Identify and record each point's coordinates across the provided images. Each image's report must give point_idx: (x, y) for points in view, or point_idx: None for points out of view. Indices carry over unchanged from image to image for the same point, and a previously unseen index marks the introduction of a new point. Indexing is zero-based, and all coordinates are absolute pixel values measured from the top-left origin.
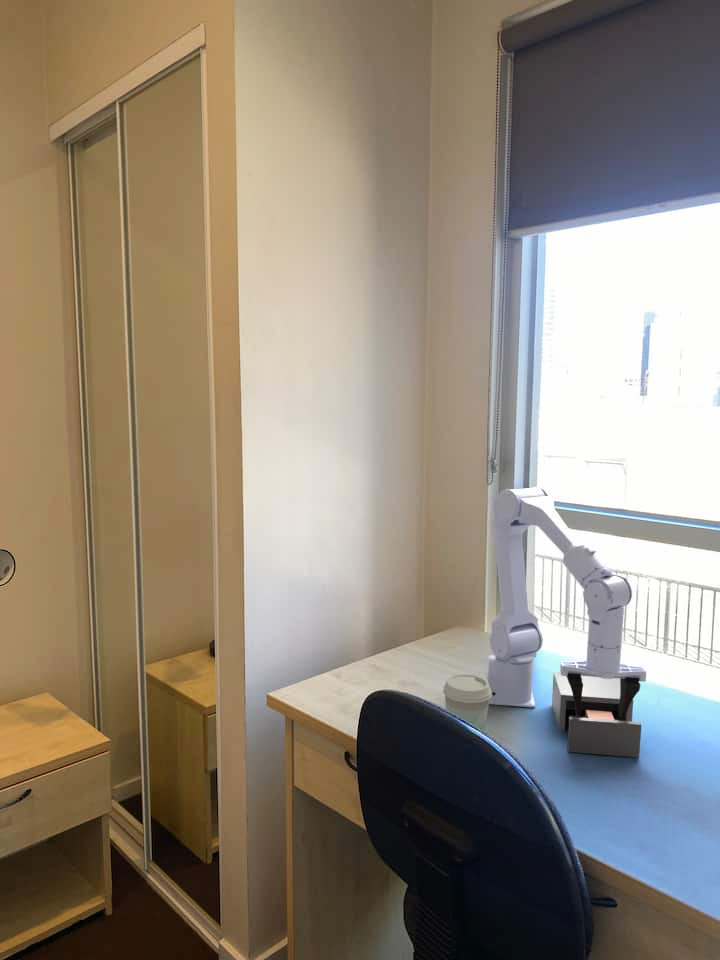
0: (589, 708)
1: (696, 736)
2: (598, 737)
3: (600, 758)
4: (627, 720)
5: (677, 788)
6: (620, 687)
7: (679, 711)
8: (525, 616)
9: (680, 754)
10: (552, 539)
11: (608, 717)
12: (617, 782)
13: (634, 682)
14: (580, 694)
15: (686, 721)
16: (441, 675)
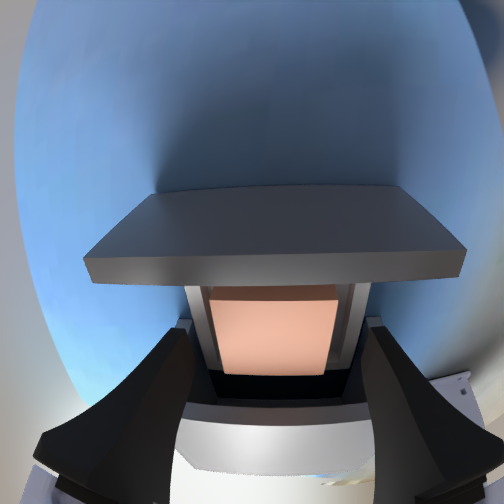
0: (271, 403)
1: (63, 324)
2: (303, 209)
3: (288, 165)
4: None
5: (72, 54)
6: (171, 463)
7: (108, 391)
8: None
9: (66, 248)
10: None
11: (239, 340)
12: (246, 9)
13: (71, 481)
14: (421, 416)
15: (90, 368)
16: None
